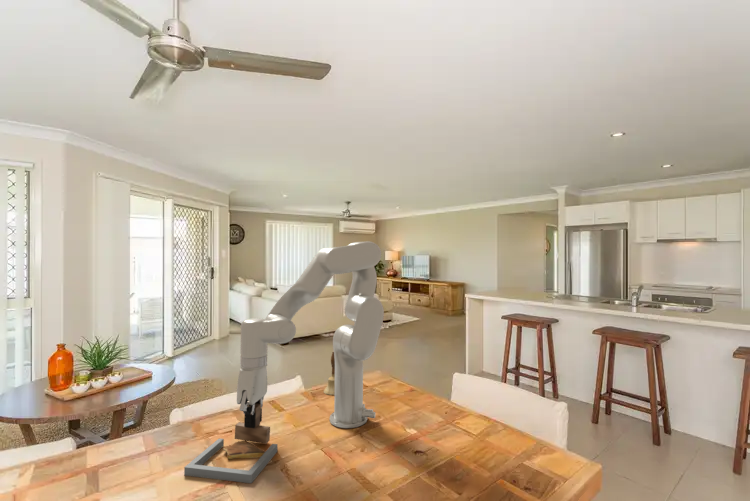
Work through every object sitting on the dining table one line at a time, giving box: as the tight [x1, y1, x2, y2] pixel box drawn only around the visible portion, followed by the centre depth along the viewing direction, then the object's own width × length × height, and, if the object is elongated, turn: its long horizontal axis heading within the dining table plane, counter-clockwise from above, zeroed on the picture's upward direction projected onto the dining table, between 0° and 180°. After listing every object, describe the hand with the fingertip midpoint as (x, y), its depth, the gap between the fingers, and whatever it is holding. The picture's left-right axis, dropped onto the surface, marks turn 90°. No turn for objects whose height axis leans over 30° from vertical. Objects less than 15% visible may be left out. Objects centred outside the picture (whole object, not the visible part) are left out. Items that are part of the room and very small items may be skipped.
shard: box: [222, 440, 266, 460], centre depth 99 cm, size 11×8×2 cm
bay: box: [183, 438, 279, 484], centre depth 95 cm, size 18×14×2 cm
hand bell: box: [323, 351, 335, 396], centre depth 146 cm, size 8×8×16 cm
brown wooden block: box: [234, 403, 271, 445], centre depth 105 cm, size 10×3×10 cm, turn 80°
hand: (253, 423), depth 105 cm, fingers closed on brown wooden block, 3 cm apart
